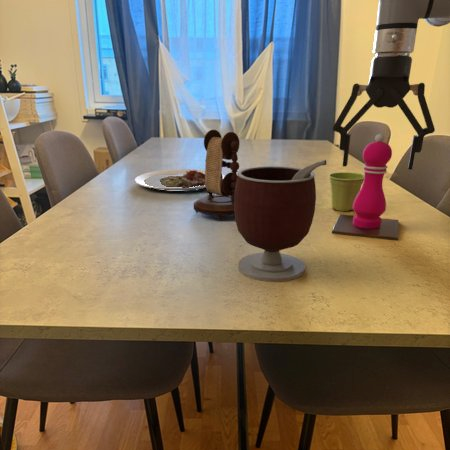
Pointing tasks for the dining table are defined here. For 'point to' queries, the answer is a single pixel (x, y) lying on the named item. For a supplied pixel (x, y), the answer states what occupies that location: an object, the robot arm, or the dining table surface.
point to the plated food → (177, 179)
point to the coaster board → (383, 232)
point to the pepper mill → (372, 185)
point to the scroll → (219, 174)
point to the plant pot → (345, 189)
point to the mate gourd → (274, 218)
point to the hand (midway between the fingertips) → (376, 167)
